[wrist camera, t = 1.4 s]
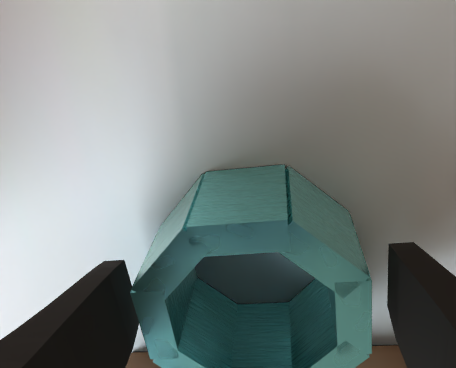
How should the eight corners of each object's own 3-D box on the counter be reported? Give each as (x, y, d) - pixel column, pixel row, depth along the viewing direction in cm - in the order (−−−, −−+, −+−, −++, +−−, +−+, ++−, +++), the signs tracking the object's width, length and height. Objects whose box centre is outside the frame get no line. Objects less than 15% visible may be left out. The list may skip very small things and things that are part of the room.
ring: (184, 325, 14) (163, 403, 12) (148, 177, 12) (112, 232, 9) (352, 319, 14) (371, 401, 11) (348, 158, 11) (371, 213, 9)
